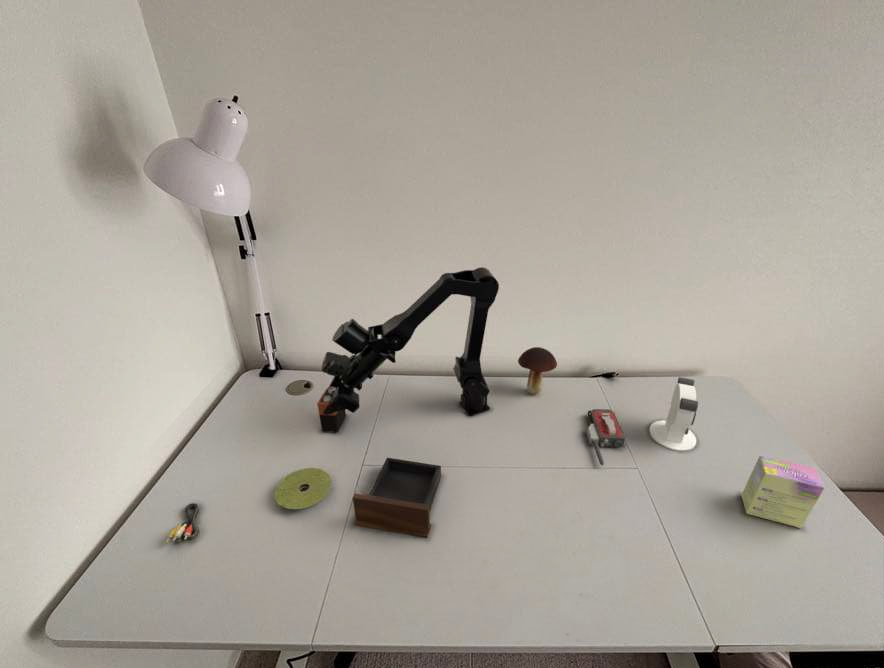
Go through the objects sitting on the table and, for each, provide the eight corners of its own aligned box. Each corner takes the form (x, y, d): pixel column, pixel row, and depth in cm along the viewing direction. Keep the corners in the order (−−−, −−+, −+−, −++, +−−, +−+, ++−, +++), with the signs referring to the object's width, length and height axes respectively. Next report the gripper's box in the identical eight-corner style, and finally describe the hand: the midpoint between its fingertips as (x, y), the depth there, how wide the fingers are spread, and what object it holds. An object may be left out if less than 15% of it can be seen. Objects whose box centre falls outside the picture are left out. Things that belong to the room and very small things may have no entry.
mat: (292, 525, 86) (291, 518, 85) (266, 493, 93) (265, 487, 92) (342, 493, 94) (341, 486, 93) (315, 466, 100) (314, 459, 99)
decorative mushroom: (507, 391, 128) (511, 347, 121) (532, 378, 135) (537, 335, 128) (536, 409, 122) (541, 363, 114) (560, 394, 128) (567, 349, 121)
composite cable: (187, 506, 89) (184, 498, 88) (213, 503, 90) (209, 495, 89) (167, 549, 81) (162, 540, 80) (195, 545, 82) (191, 537, 81)
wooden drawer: (382, 467, 101) (380, 444, 97) (446, 477, 98) (446, 454, 95) (354, 525, 87) (350, 500, 83) (427, 538, 85) (426, 513, 81)
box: (793, 507, 94) (816, 467, 88) (801, 529, 89) (825, 488, 84) (740, 494, 97) (758, 454, 91) (745, 514, 92) (764, 473, 86)
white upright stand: (698, 457, 107) (716, 408, 99) (649, 445, 110) (664, 397, 103) (693, 427, 117) (710, 380, 109) (649, 417, 120) (662, 371, 113)
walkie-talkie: (579, 415, 120) (596, 468, 102) (581, 402, 118) (599, 454, 100) (611, 415, 120) (634, 469, 102) (614, 402, 118) (638, 455, 100)
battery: (347, 416, 116) (342, 385, 111) (338, 433, 110) (333, 401, 105) (330, 415, 116) (325, 384, 112) (321, 432, 110) (315, 400, 106)
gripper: (340, 326, 111) (301, 367, 114) (338, 365, 95) (292, 411, 98) (375, 350, 116) (336, 389, 119) (377, 390, 101) (333, 434, 103)
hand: (325, 404), depth 110 cm, fingers closed on battery, 7 cm apart
